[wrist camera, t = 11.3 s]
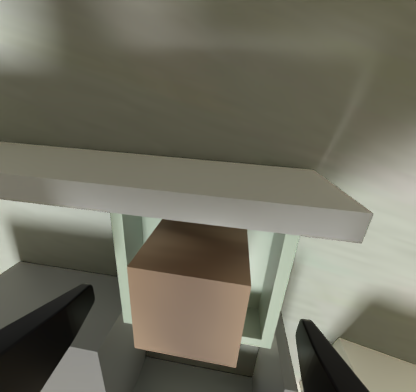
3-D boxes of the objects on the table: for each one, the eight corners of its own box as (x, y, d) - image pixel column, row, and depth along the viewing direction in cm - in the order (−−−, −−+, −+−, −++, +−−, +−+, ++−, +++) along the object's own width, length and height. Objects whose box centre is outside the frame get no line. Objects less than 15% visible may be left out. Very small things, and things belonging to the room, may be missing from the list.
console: (19, 261, 16) (-75, 324, 11) (278, 301, 14) (299, 399, 9) (46, 341, 20) (-17, 415, 15) (258, 383, 18) (265, 486, 13)
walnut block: (166, 275, 13) (134, 347, 9) (166, 213, 12) (126, 266, 8) (236, 286, 13) (236, 368, 9) (246, 223, 11) (251, 286, 7)
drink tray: (-25, 139, 13) (-182, 153, 8) (313, 169, 11) (373, 213, 6) (18, 267, 16) (-72, 329, 12) (278, 308, 14) (297, 405, 9)
